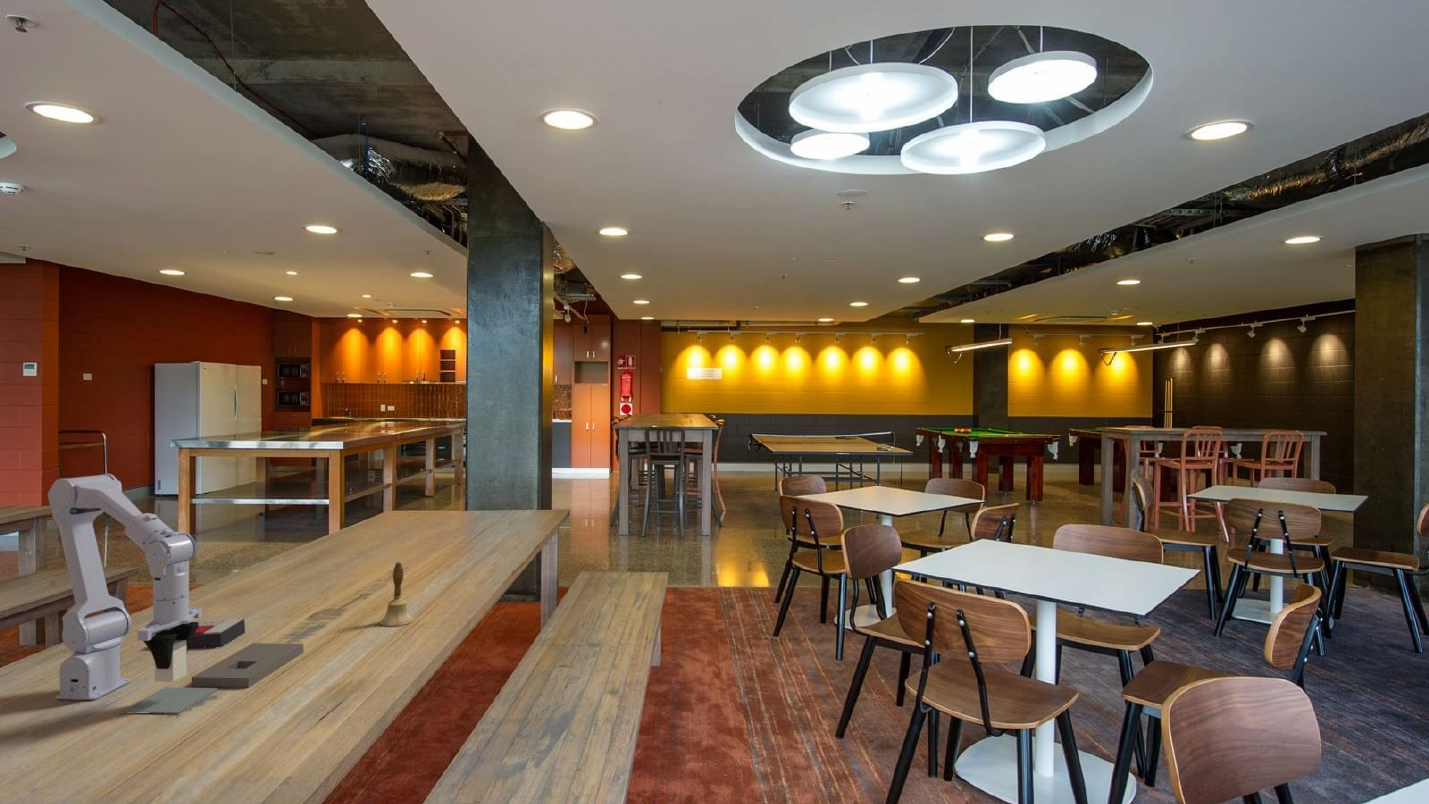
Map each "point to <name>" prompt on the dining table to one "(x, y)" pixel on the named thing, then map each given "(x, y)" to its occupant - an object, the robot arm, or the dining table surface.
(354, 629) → the dining table surface
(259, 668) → the grey slotted plate
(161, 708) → the mat
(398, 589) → the hand bell
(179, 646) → the plug
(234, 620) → the black and red box
